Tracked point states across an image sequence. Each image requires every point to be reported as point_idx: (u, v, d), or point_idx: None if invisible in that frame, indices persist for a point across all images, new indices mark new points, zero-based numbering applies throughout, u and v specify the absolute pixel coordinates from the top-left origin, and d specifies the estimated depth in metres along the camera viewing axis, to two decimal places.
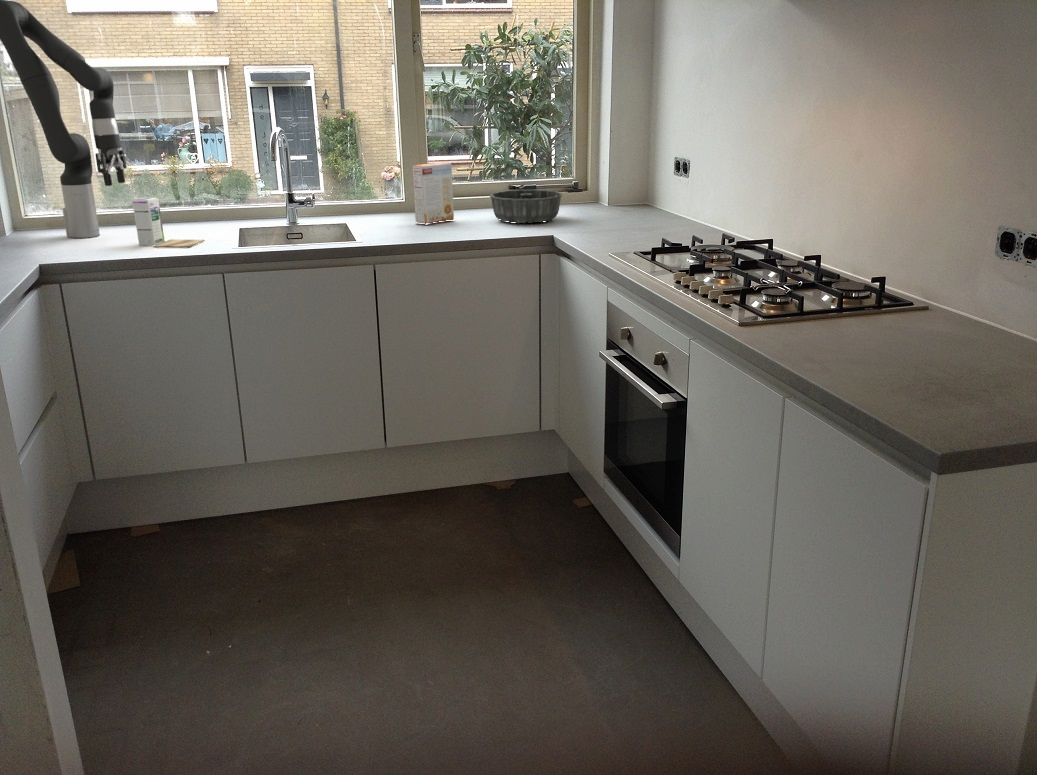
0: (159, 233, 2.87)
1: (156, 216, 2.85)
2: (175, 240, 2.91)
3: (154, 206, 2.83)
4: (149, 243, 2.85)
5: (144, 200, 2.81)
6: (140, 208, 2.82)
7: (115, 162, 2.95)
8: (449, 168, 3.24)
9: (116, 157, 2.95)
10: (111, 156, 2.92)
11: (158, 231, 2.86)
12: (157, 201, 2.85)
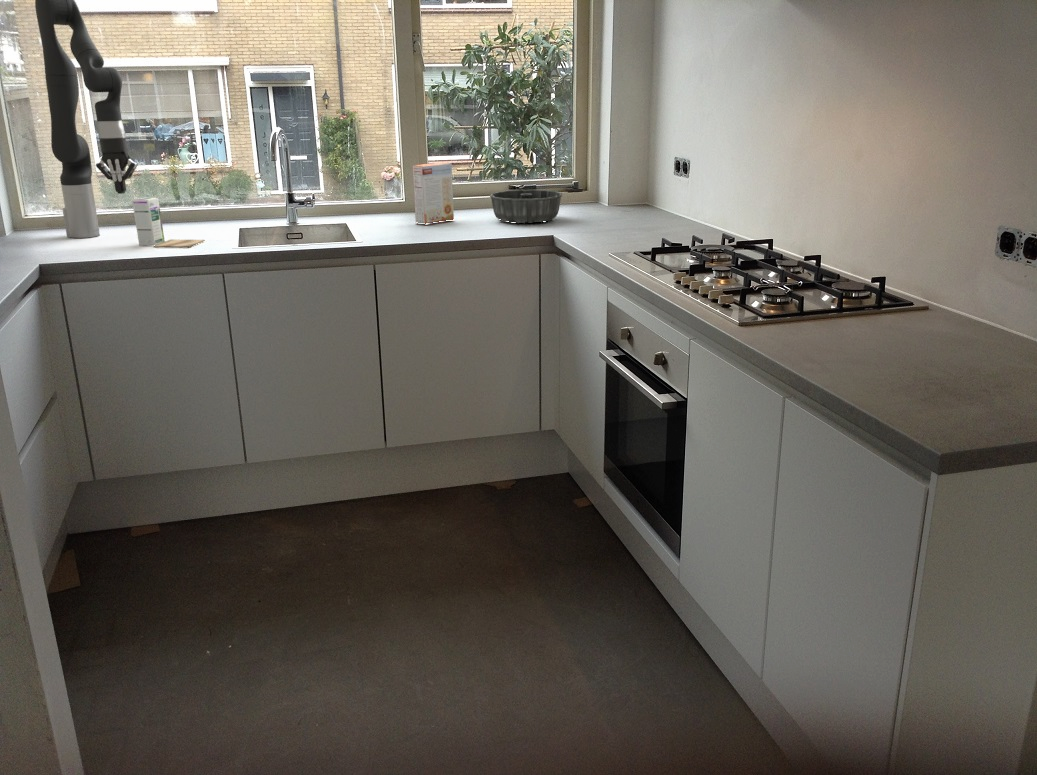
0: (159, 233, 2.87)
1: (156, 216, 2.85)
2: (175, 240, 2.91)
3: (154, 206, 2.83)
4: (149, 243, 2.85)
5: (144, 200, 2.81)
6: (140, 208, 2.82)
7: None
8: (449, 168, 3.24)
9: None
10: None
11: (158, 231, 2.86)
12: (157, 201, 2.85)
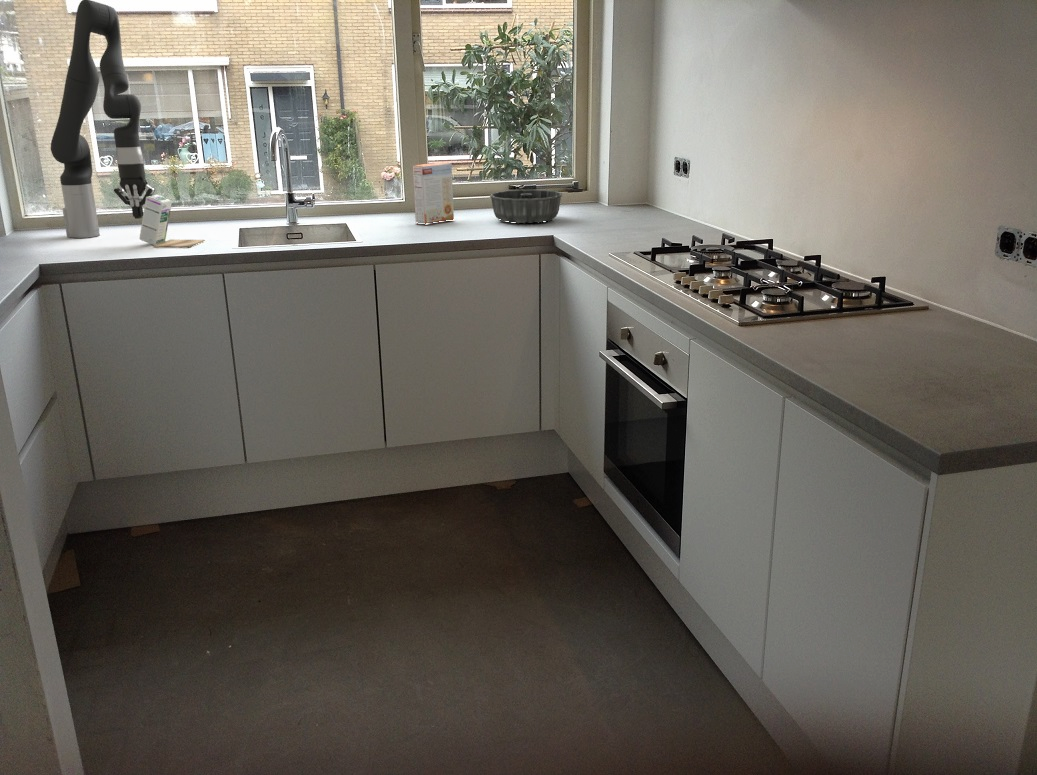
0: (162, 234, 2.86)
1: (165, 218, 2.84)
2: (175, 240, 2.91)
3: (166, 208, 2.83)
4: (150, 241, 2.85)
5: (158, 201, 2.80)
6: (152, 207, 2.81)
7: None
8: (449, 168, 3.24)
9: None
10: None
11: (162, 232, 2.86)
12: (170, 203, 2.84)
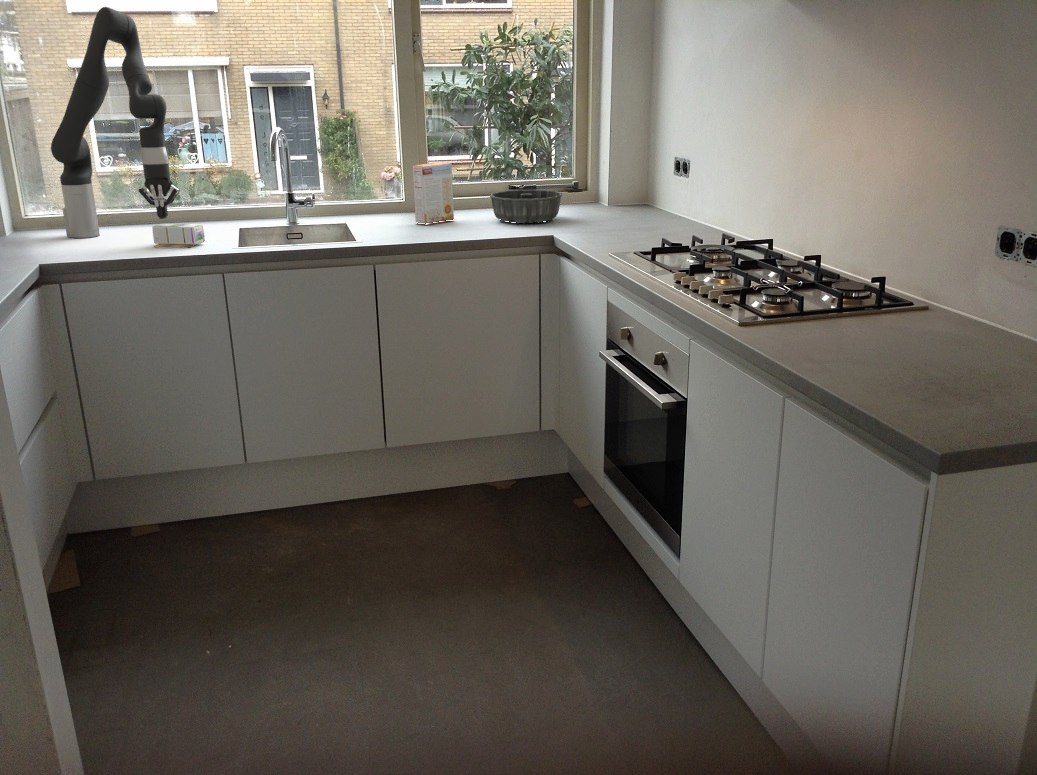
0: None
1: None
2: None
3: None
4: (155, 238, 2.84)
5: (194, 240, 2.82)
6: (186, 234, 2.82)
7: None
8: (449, 168, 3.24)
9: None
10: None
11: None
12: None
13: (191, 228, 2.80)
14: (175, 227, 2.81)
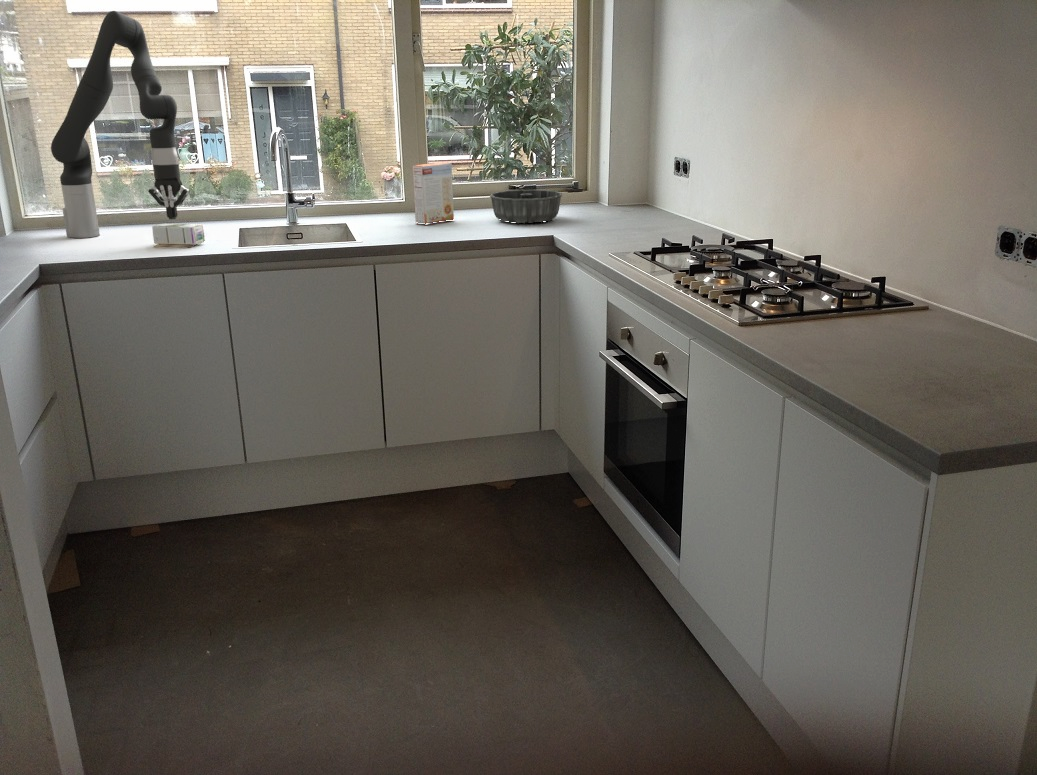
0: None
1: None
2: None
3: None
4: (155, 238, 2.84)
5: (194, 240, 2.82)
6: (186, 235, 2.82)
7: None
8: (449, 168, 3.24)
9: None
10: None
11: None
12: None
13: (191, 228, 2.80)
14: (175, 227, 2.81)
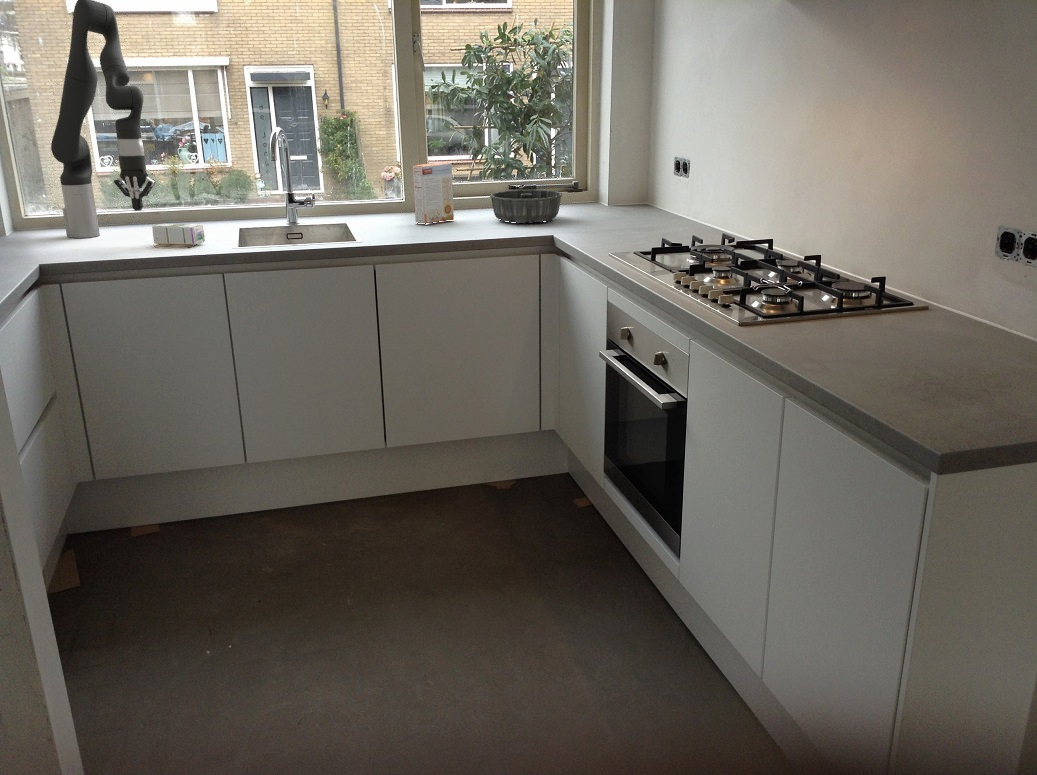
0: None
1: None
2: None
3: None
4: (155, 238, 2.84)
5: (194, 240, 2.82)
6: (186, 235, 2.82)
7: None
8: (449, 168, 3.24)
9: None
10: None
11: None
12: None
13: (191, 228, 2.80)
14: (175, 227, 2.81)
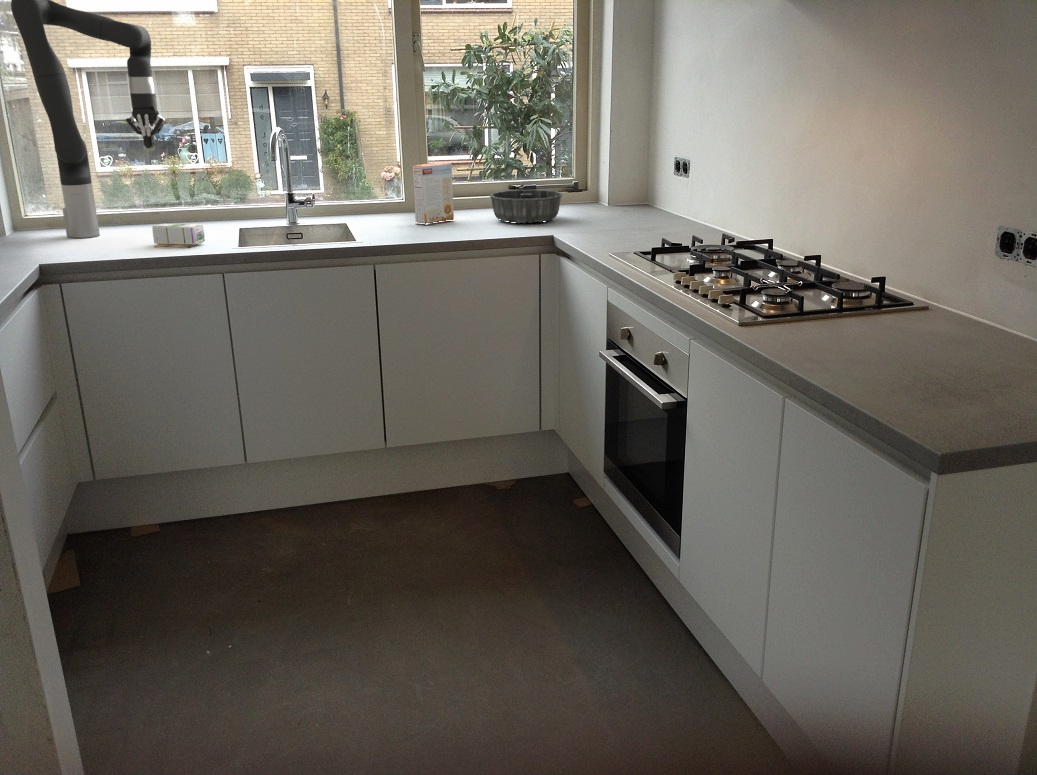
0: None
1: None
2: None
3: None
4: (155, 238, 2.84)
5: (194, 240, 2.82)
6: (186, 235, 2.82)
7: None
8: (449, 168, 3.24)
9: None
10: None
11: None
12: None
13: (191, 228, 2.80)
14: (175, 227, 2.81)
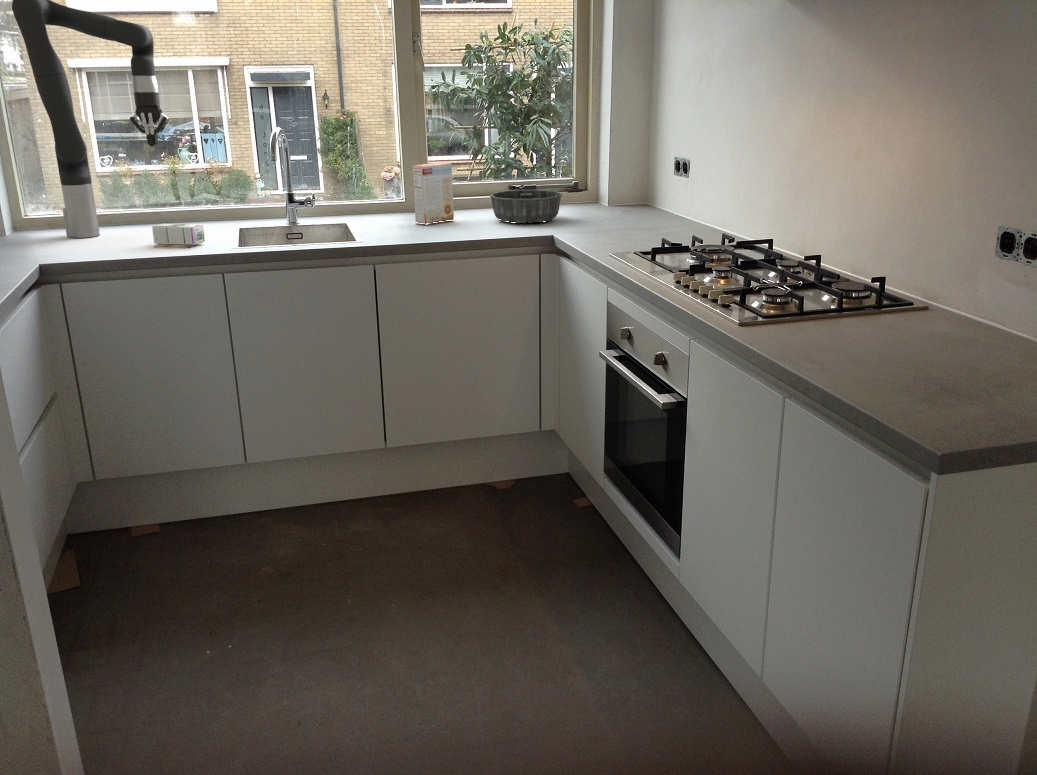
0: None
1: None
2: None
3: None
4: (155, 238, 2.84)
5: (194, 240, 2.82)
6: (186, 235, 2.82)
7: None
8: (449, 168, 3.24)
9: None
10: None
11: None
12: None
13: (191, 228, 2.80)
14: (175, 227, 2.81)
